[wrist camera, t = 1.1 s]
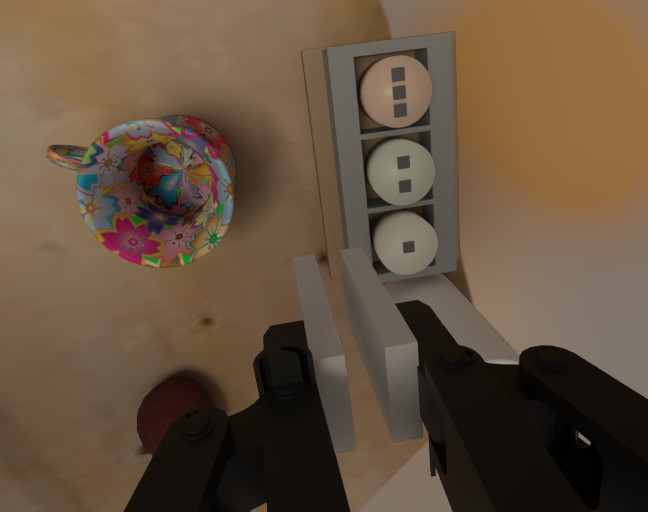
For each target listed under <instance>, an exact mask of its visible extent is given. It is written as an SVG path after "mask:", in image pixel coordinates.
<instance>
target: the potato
mask: <svg viewBox="0 0 648 512" xmlns="http://www.w3.org/2000/svg"><path fill="white" fill-rule="evenodd" d="M202 407H216V406H215V404H214V402H213V400H212V398H211V396H210V395H209V393H208V392H207V391H206V389H205V388H204V387H203V386H202V385H201V384H200V383H198V382H197V381H195V380H194V379H190V378H186V377H176V378H171V379H169V380H167V381H165V382H163V383H160V384H159V385H158V386H156V387H155V388H154V389H153V390H152V391H151V392H150V393H149V394H148V395H147V396H146V397H145V398H144V399H143V401H142V404H141V406H140V408H139V410H138V415H137V431H138V434H139V437H140V440H141V442H142V444H143V447H144V448H145V449H146V450H147V451H148V452H149V453H150V454H152V455H154V454H155V452H156V450H157V448H158V446H159V444H160V442H161V440H162V438H163V437H164V435H165V433H166V431H167V429H168V428H169V427H170V425H171V424H172V423H173V421H174V420H176V419H177V418H179V417H180V416H181V415H183V414H184V413H187V412H189V411H191V410H194V409H197V408H202Z"/></svg>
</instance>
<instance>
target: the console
mask: <svg viewBox="0 0 648 512" xmlns="http://www.w3.org/2000/svg"><path fill="white" fill-rule="evenodd" d="M400 55H402V56H409V57H412V58H414V59H416V60H418V61H419V62H420V63H421V64H422V65H423V66H424V67H425V68H426V70H427V71H428V73H429V76H430V78H431V82H432V97H431V101H430V104H429V106H428V108H427V110H426V112H425V113H424V114H423V116H422V117H421V118H420V119H419V120H417V121H416V122H415V123H413V124H411V125H409V126H406V127H402V128H392V127H388V126H385V125H382V124H379V123H377V122H374V121H372V120H371V119H369V118H368V117H367V116H366V115H365V114H364V113H363V112H362V110H361V108H360V106H359V103H358V99H357V86H358V82H359V79H360V77H361V75H362V73H363V72H364V70H365V69H366V68H367V67H368V66H369V65H370V64H372V63H373V62H375V61H377V60H379V59H383V58H388V57H393V56H400ZM301 56H302V64H303V72H304V79H305V87H306V95H307V103H308V110H309V118H310V126H311V134H312V141H313V149H314V157H315V165H316V172H317V180H318V188H319V196H320V203H321V211H322V219H323V227H324V234H325V242H326V250H327V258H328V265H329V273H330V276H331V279H333V278H339V277H343V271H342V263H341V254H340V250H344V249H351V248H357V247H361V248H362V249H363V251H364V253H365V255H366V256H367V258H368V260H369V261H370V263H371V265H372V266H373V268H374V270H375V271H376V273H377V275H378V276H379V278H380V280H381V281H382V283H385V282H391V281H397V280H403V279H409V278H415V277H421V276H427V275H433V274H439V273H446V272H452V271H457V265H456V258H460V238H459V190H458V189H459V188H458V138H457V137H458V135H457V87H456V86H457V84H456V32H455V31H451V32H442V33H434V34H427V35H419V36H412V37H403V38H395V39H387V40H380V41H372V42H364V43H356V44H348V45H340V46H333V47H325V48H317V49H309V50H302V51H301ZM388 137H402V138H405V139H407V140H410V141H412V142H415V143H417V144H420V145H421V146H423V147H424V148H425V149H426V150H428V152H429V153H430V154H431V156H432V158H433V161H434V164H435V178H434V181H433V184H432V186H431V188H430V190H429V191H428V193H427V194H426V195H425V196H424V197H423V198H421V199H420V200H419V201H417V202H415V203H413V204H410V205H404V206H398V205H393V204H390V203H388V202H386V201H385V200H383V199H382V198H381V197H380V196H379V195H378V194H377V193H376V192H375V191H374V190H373V189H372V188H371V187H370V186H369V184H368V183H367V181H366V178H365V175H364V162H365V159H366V156H367V154H368V152H369V151H370V149H371V148H372V147H373V146H374V145H375V144H376V143H377V142H379V141H380V140H382V139H385V138H388ZM403 208H408V209H411V210H413V211H414V212H416V213H417V214H418V215H419V216H421V217H422V218H423V219H424V220H425V221H427V222H428V223H429V224H430V225H431V226H432V227H433V229H434V230H435V232H436V235H437V238H438V248H437V252H436V255H435V257H434V259H433V260H432V261H431V263H430V264H429V265H428V266H427V267H426V268H424V269H423V270H421V271H419V272H417V273H414V274H410V275H401V274H396V273H394V272H392V271H390V270H389V269H387V268H386V267H385V266H384V264H383V263H382V261H381V260H380V258H379V257H378V255H377V254H376V252H375V251H374V249H373V247H372V245H371V241H370V232H371V228H372V225H373V223H374V222H375V220H376V219H377V218H378V217H379V216H380V215H381V214H382V213H383V212H385V211H390V210H397V209H403Z"/></svg>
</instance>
